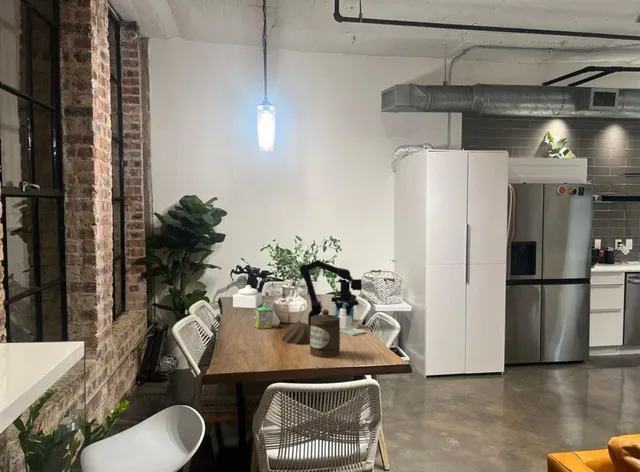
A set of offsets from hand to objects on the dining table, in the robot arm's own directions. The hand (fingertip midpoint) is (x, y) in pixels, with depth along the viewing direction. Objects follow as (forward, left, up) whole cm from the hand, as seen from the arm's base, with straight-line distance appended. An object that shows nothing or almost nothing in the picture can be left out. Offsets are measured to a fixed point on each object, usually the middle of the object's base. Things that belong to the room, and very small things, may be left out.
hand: (344, 314), depth 303 cm
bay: (0, 0, -8) cm, 8 cm away
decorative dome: (-41, -8, -8) cm, 43 cm away
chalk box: (-40, +30, -8) cm, 51 cm away
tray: (-5, -13, -8) cm, 16 cm away
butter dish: (-8, +98, -8) cm, 99 cm away
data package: (+13, +14, -8) cm, 21 cm away
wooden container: (-48, -36, -8) cm, 61 cm away
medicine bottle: (0, 0, -8) cm, 8 cm away
